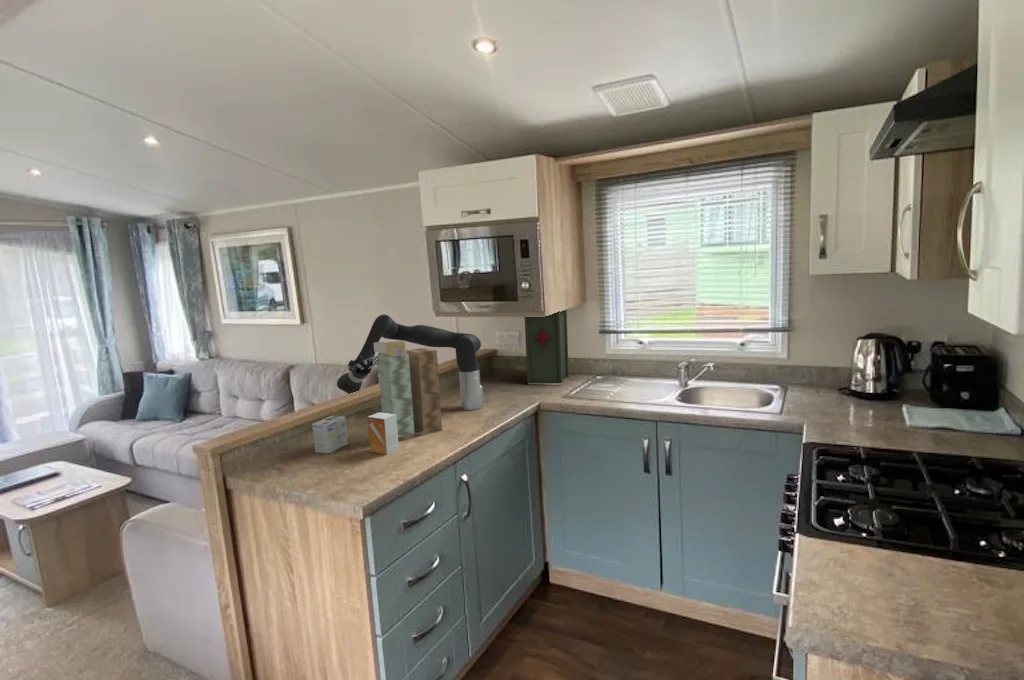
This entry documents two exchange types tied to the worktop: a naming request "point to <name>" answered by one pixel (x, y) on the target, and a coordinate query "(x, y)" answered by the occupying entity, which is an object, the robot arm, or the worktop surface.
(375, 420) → the small box
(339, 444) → the light bulb box
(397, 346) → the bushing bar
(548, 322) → the first aid box
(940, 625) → the worktop surface
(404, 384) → the green brown tall block
